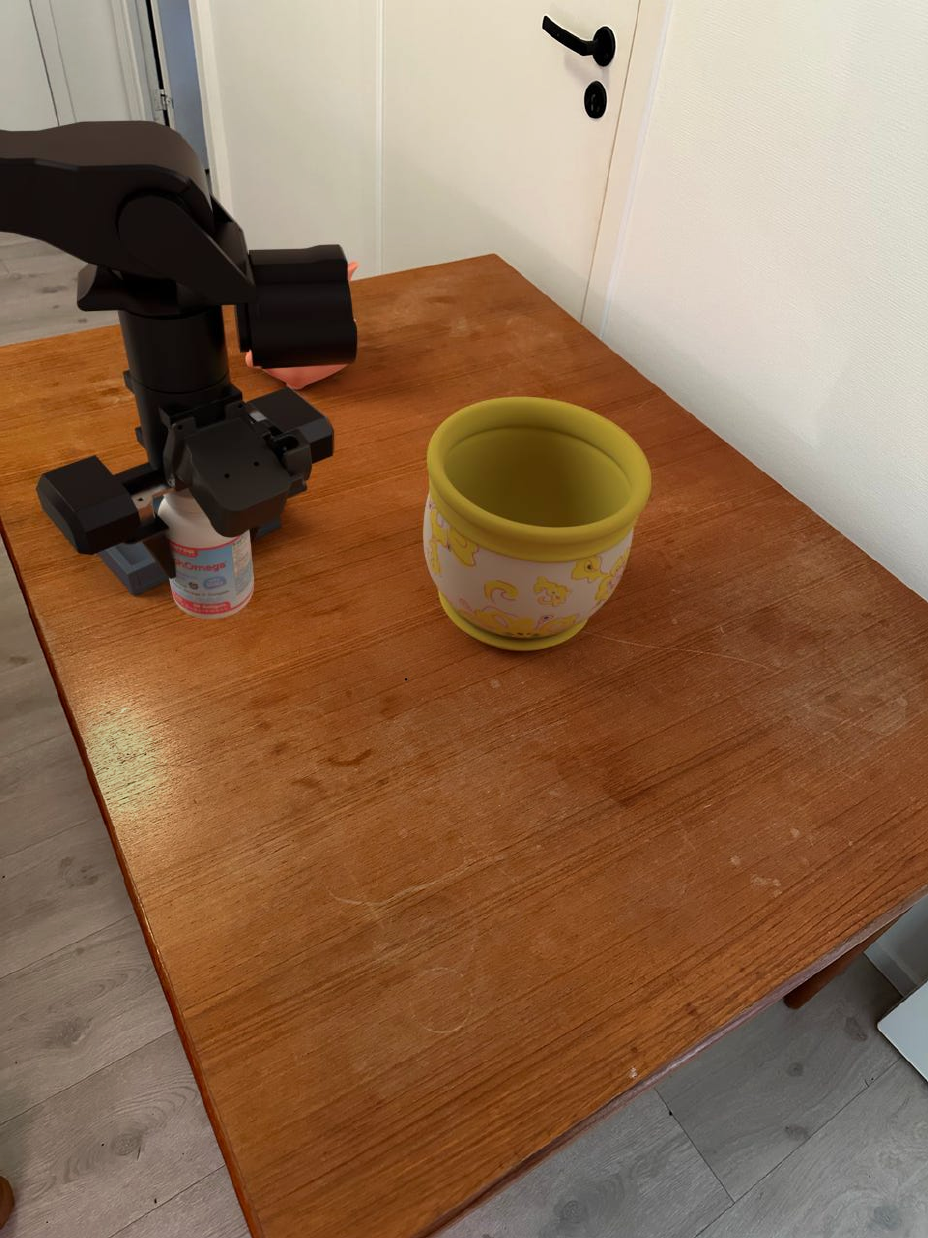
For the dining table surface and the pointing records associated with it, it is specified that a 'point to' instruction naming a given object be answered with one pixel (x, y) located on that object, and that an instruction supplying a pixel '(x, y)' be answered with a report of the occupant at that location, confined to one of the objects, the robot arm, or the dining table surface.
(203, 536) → the pill bottle
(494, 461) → the flowerpot
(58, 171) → the robot arm
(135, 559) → the tray
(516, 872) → the dining table surface
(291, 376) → the teapot
